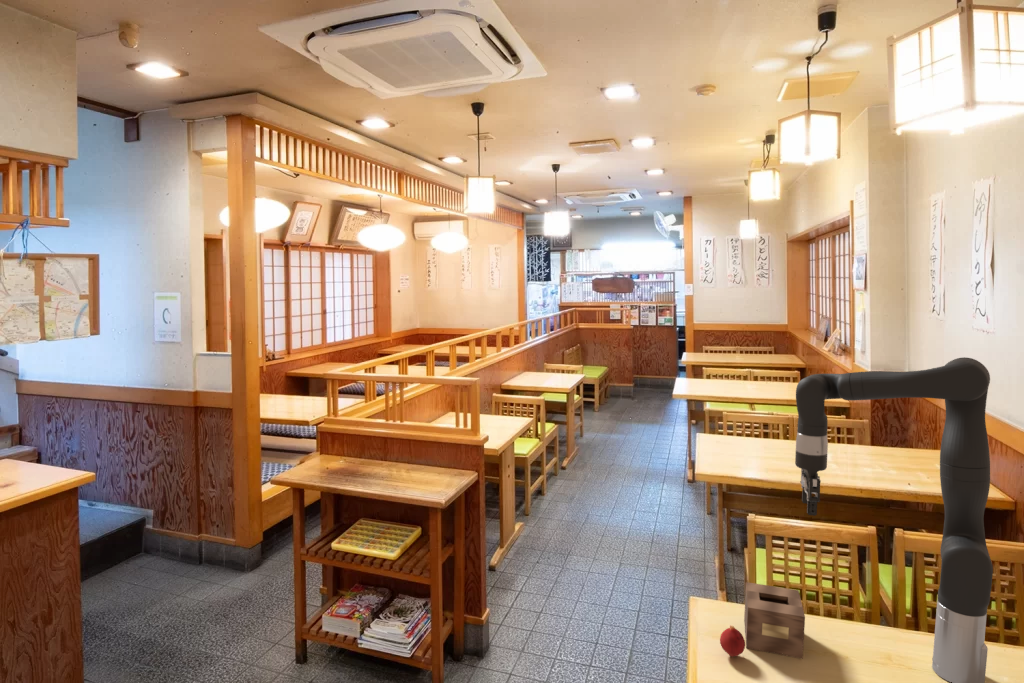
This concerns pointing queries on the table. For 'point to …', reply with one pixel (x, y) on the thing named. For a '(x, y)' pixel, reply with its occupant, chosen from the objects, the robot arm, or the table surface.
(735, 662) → the table surface
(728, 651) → the red pomegranate
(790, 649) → the box
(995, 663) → the table surface
